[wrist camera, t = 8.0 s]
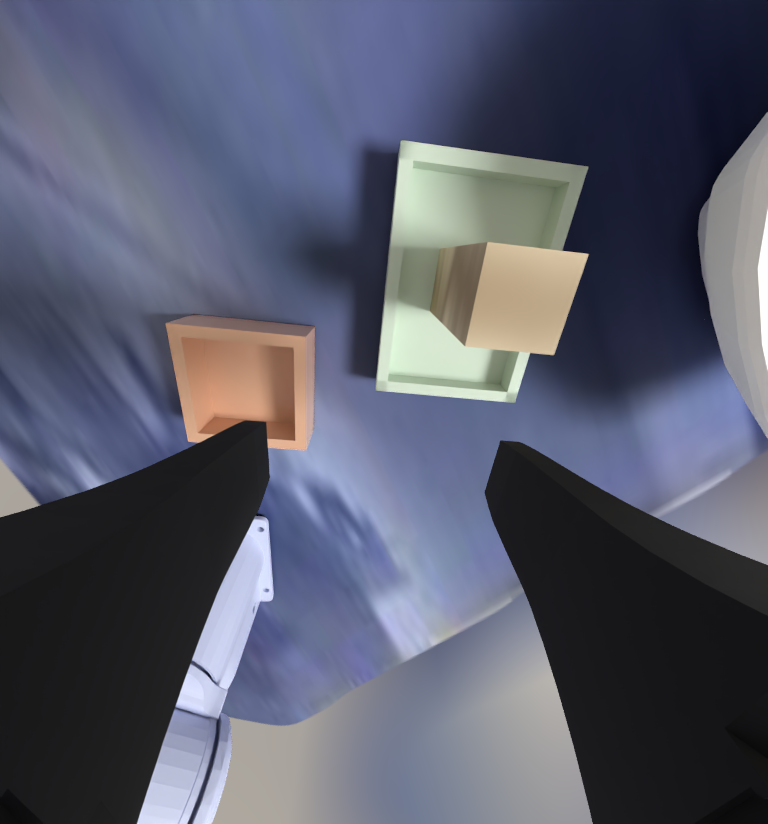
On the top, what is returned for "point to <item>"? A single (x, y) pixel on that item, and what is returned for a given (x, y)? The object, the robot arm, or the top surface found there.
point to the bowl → (740, 267)
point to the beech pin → (506, 295)
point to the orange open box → (245, 376)
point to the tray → (455, 226)
